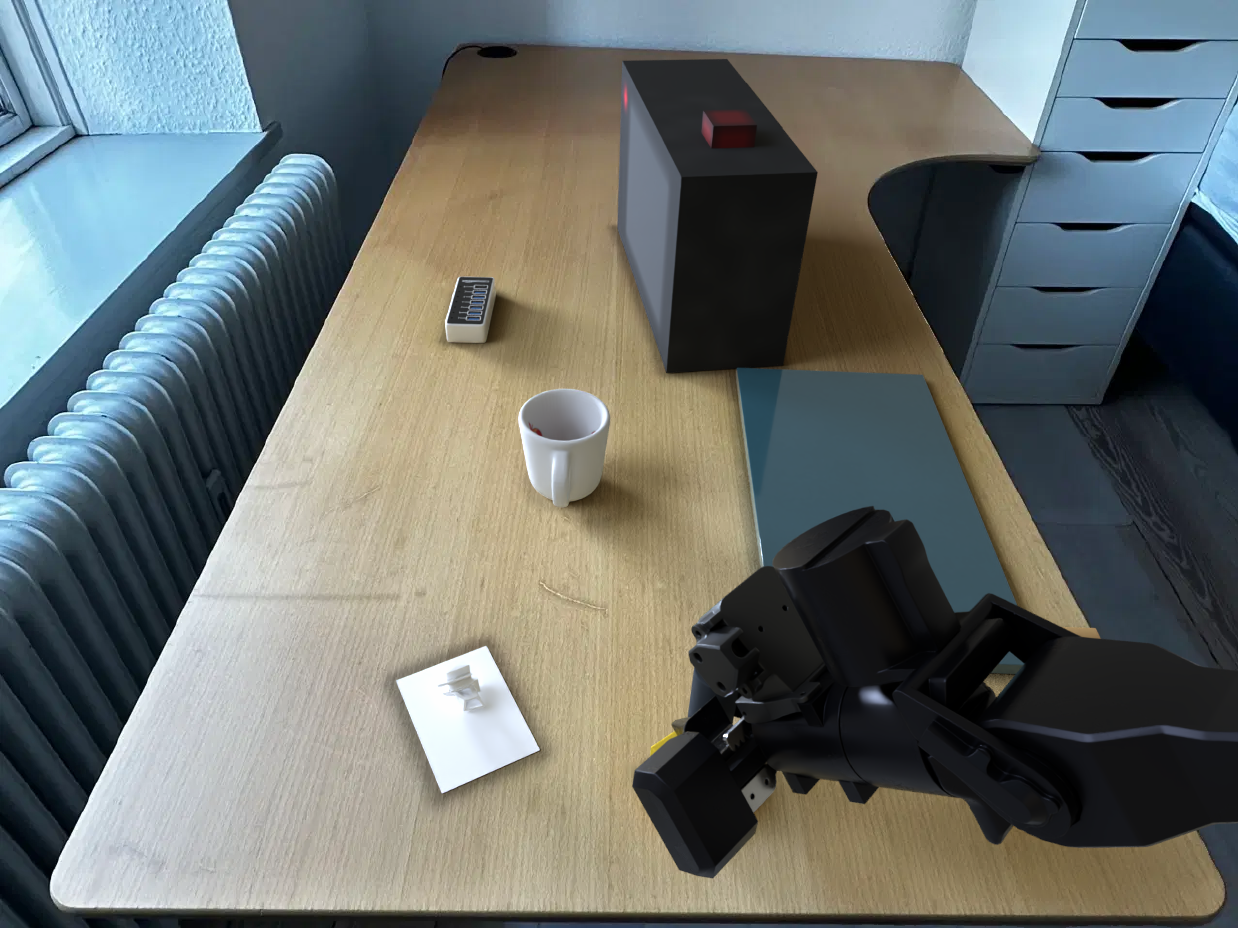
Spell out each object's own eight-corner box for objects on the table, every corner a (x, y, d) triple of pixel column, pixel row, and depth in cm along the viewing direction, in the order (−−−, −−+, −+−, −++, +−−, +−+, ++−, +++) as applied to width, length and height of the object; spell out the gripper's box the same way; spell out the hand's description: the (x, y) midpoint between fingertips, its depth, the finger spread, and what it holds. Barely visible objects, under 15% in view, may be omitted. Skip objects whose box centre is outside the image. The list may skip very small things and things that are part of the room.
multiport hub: (446, 342, 100) (444, 324, 98) (459, 292, 108) (458, 275, 107) (485, 343, 100) (484, 325, 98) (496, 293, 108) (495, 276, 107)
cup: (606, 536, 77) (608, 467, 72) (514, 533, 77) (510, 464, 72) (609, 456, 85) (611, 388, 80) (526, 453, 85) (522, 386, 80)
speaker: (725, 223, 125) (746, 40, 109) (802, 364, 98) (844, 148, 83) (617, 228, 122) (622, 41, 107) (666, 373, 96) (683, 153, 81)
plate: (1037, 675, 67) (1042, 665, 67) (773, 665, 67) (775, 655, 67) (920, 383, 96) (923, 374, 95) (735, 376, 96) (736, 367, 95)
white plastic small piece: (475, 680, 66) (472, 653, 64) (488, 707, 64) (485, 680, 62) (436, 695, 64) (431, 669, 62) (448, 723, 63) (444, 697, 61)
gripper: (909, 493, 48) (728, 531, 61) (673, 696, 38) (517, 690, 51) (1000, 670, 49) (803, 671, 62) (794, 915, 39) (610, 854, 52)
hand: (693, 713), depth 56 cm, fingers closed on sponge wand, 3 cm apart
